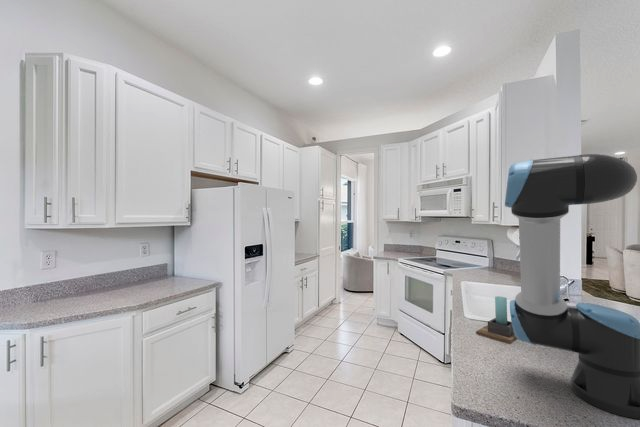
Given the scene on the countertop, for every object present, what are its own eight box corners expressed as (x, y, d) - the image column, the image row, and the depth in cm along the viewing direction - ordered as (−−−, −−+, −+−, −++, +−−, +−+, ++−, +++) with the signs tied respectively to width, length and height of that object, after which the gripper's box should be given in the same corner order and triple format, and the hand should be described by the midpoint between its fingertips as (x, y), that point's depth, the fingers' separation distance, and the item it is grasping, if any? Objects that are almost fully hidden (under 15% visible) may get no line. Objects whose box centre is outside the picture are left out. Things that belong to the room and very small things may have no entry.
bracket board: (509, 344, 104) (509, 330, 104) (476, 334, 113) (475, 321, 114) (522, 334, 112) (521, 321, 113) (490, 326, 122) (489, 314, 122)
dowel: (505, 335, 109) (504, 299, 110) (494, 331, 113) (493, 297, 113) (509, 332, 112) (508, 297, 112) (498, 329, 115) (497, 295, 115)
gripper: (538, 219, 97) (540, 279, 96) (553, 220, 113) (555, 271, 112) (513, 219, 103) (515, 276, 102) (531, 220, 119) (533, 269, 118)
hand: (536, 274), depth 107 cm, fingers open, 13 cm apart
